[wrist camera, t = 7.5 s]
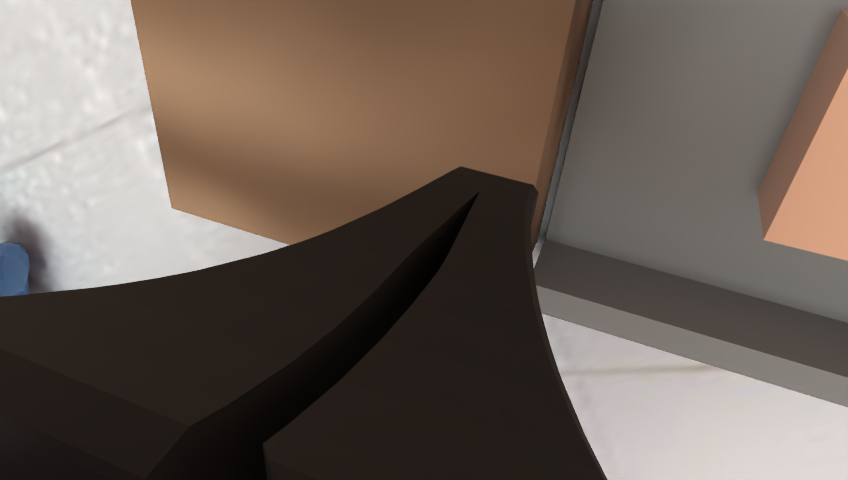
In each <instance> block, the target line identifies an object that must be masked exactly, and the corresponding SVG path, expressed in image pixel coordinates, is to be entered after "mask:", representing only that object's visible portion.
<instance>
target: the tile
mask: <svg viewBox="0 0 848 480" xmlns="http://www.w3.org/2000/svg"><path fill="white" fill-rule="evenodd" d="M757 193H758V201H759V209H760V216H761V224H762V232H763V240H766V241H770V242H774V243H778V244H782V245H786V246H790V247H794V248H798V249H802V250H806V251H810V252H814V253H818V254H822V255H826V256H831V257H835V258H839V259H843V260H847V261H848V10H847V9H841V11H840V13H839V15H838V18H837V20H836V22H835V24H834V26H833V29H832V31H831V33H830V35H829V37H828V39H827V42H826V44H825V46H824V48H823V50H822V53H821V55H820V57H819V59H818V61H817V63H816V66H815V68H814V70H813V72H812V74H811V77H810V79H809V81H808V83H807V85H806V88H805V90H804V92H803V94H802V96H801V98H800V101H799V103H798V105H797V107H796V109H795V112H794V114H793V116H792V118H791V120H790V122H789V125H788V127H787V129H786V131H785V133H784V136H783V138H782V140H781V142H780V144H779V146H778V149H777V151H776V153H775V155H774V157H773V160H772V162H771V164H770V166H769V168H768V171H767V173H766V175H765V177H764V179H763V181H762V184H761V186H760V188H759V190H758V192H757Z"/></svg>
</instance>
